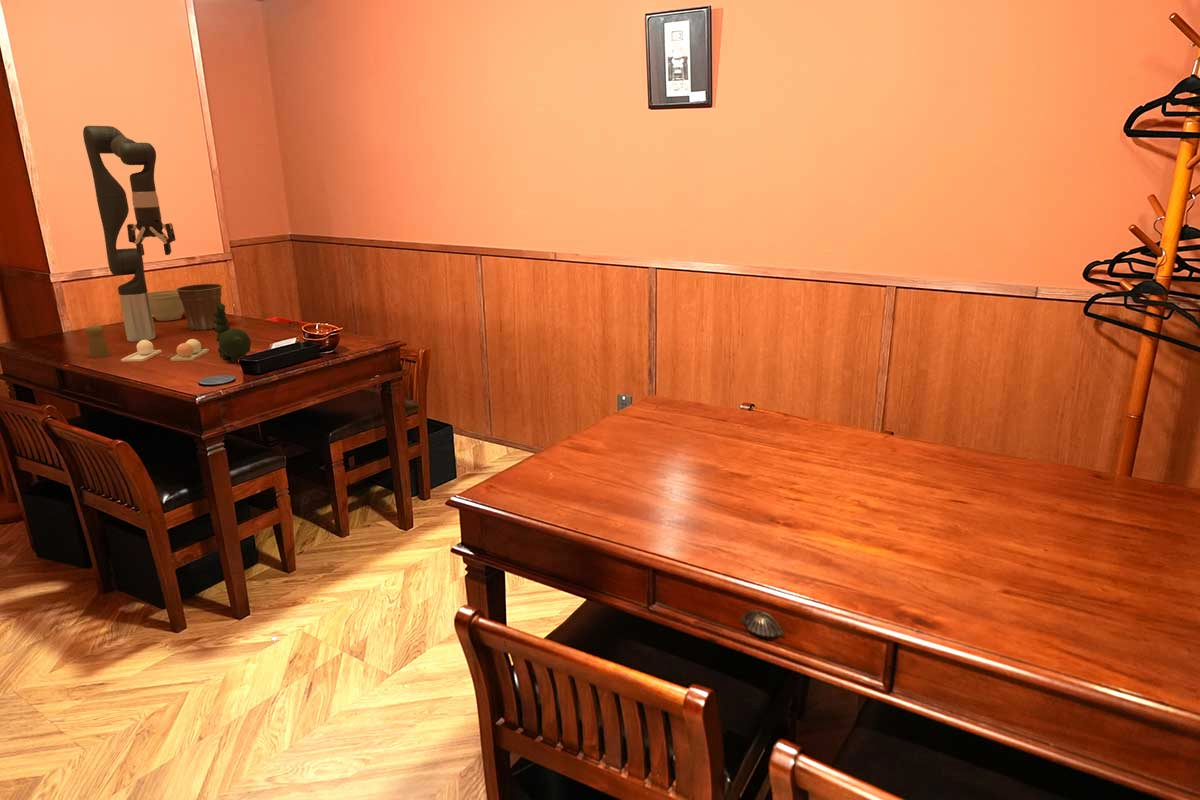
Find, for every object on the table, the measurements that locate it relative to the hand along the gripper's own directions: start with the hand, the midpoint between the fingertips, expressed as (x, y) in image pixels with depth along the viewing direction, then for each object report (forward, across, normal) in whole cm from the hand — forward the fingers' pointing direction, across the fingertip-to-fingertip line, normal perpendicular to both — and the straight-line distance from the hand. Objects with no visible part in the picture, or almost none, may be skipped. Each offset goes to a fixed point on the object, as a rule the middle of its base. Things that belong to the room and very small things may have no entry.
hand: (154, 255), depth 272 cm
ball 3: (+33, -11, +7) cm, 35 cm away
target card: (+33, -3, +10) cm, 35 cm away
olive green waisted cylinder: (+33, +20, +8) cm, 40 cm away
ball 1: (+33, +5, +7) cm, 34 cm away
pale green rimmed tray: (+33, -11, +10) cm, 36 cm away
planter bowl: (+33, +28, -59) cm, 73 cm away
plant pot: (+33, +5, -40) cm, 52 cm away
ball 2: (+33, -11, +13) cm, 37 cm away
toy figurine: (+33, -27, +14) cm, 45 cm away
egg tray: (+33, +5, +10) cm, 35 cm away
